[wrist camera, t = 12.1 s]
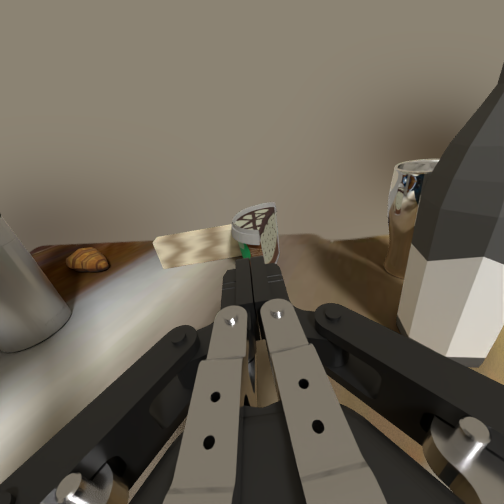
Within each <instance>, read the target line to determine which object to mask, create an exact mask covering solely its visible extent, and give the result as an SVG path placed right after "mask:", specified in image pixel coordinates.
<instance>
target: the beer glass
mask: <svg viewBox="0 0 504 504" xmlns="http://www.w3.org/2000/svg"><path fill="white" fill-rule="evenodd" d="M439 160H440V159H421V160H413V161H406V162H402V163H399V164H397V165H396V166H395V167H394V174H393V178H392V183H391V187H390V193H389V199H388V226H389V249H388V252H387V255H386V258H385V260H384V263H383V266H384V269H385V270H386V271H387V272H388V273H389V274H391V275H393V276H395V277H398V278H402V279H404V278H405V272H406V267H407V262H408V257H409V252H410V247H411V242H412V237H413V232H414V227H415V222H416V217H417V212H418V207H419V202H420V196H421V194H422V192H423V190H424V188H425V186H426V183H427V181H428V179H429V177H430V175H431V173H432V171H433V169H434V168H435V166H436V164H437V163H438V161H439Z"/></svg>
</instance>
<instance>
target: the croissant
mask: <svg viewBox="0 0 504 504" xmlns="http://www.w3.org/2000/svg"><path fill="white" fill-rule="evenodd" d="M66 266H68V267H69V268H71V269H74V270H76V271H78V272H99V271H104V270H106V269H108V268H109V265H108V262H107V260H106V257H104V256H103V255H102V253H100V252H99V251H98V250H96V249H95V248H92V247H89V248H81V249H78V250H76V251H75V252H74V253H73V254H72V255H70V256H69V257H68V258H67V259H66Z"/></svg>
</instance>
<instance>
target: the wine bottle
mask: <svg viewBox="0 0 504 504" xmlns="http://www.w3.org/2000/svg"><path fill="white" fill-rule="evenodd" d="M396 325H397V327H398V329H399V331H400V333H401V335H403V336H405V337H407V338H409V339H411V340H413V341H415V342H417V343H419V344H421V345H423V346H425V347H427V348H429V349H431V350H433V351H435V352H437V353H439V354H441V355H443V356H445V357H447V358H449V359H451V360H454V361H456V362H458V363H460V364H462V365H464V366H466V367H479V366H480V365H481V364H482V363H483V361H484V359H485V358H486V356H487V354H488V352H489V351H490V349H491V347H492V345H493V344H494V342H495V340H496V338H497V336H498V334H499V333H500V331H501V329H502V327H503V325H504V64H503V67H502V71H501V74H500V78H499V81H498V84H497V86H496V87H495V88H494V89H493V91H492V92H491V93H490V95H489V96H488V97H487V99H486V100H485V101H484V102H483V104H482V105H481V106H480V107H479V109H478V110H477V111H476V112H475V113H474V115H473V116H472V117H471V118H470V120H469V121H468V122H467V123H466V125H465V126H464V127H463V128H462V129H461V130H460V132H459V133H458V134H457V135H456V136H455V138H454V139H453V140H452V141H451V143H450V144H449V146H448V147H447V149H446V150H445V152H444V154H443V155H442V157H441V158H440V160H439V161H438V163H437V164H436V166H435V168H434V169H433V171H432V173H431V175H430V177H429V179H428V181H427V183H426V186H425V188H424V190H423V192H422V194H421V196H420V202H419V207H418V212H417V217H416V222H415V227H414V232H413V237H412V242H411V247H410V252H409V257H408V262H407V267H406V272H405V278H404V283H403V288H402V293H401V298H400V303H399V308H398V313H397V319H396Z"/></svg>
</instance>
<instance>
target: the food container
mask: <svg viewBox="0 0 504 504" xmlns="http://www.w3.org/2000/svg"><path fill="white" fill-rule="evenodd" d="M276 212H277V211H276V205H275V202H271V203H264V204H259V205H255V206H252V207H249V208H246V209H244V210H242V211H240V212H239V213H237V214H236V215H235V216H234V218H233V222H232V228H231V233H232V237H233V238H234V239H235V240H237V241H238V243H239V247H240V250H241V253H242V257H243V258H249V260H250V257H255V256H261V255H263V257H264V262H265V264H269V263H275V264H276V263H277V260H278V257H279V255H280V250H279V240H278V229H277V219H276ZM250 265H251V263H250Z"/></svg>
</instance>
